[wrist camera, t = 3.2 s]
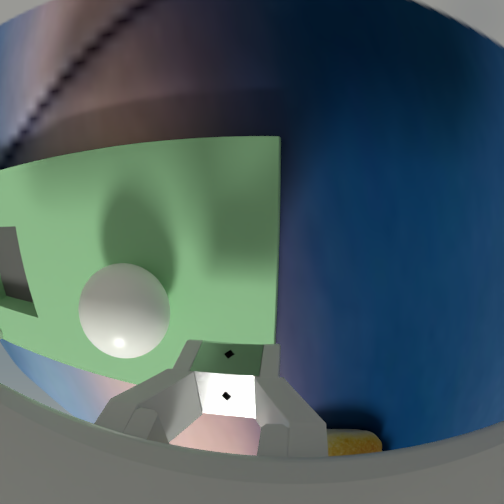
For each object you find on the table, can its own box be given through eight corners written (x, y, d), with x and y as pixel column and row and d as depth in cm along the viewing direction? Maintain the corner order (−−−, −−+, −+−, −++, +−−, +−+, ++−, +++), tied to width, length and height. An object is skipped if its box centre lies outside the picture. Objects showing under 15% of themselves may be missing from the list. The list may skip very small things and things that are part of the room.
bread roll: (368, 406, 15) (378, 459, 11) (390, 463, 17) (397, 503, 13) (247, 437, 17) (237, 485, 14) (296, 487, 19) (293, 524, 16)
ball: (179, 251, 11) (135, 294, 8) (187, 330, 12) (156, 386, 9) (103, 248, 12) (49, 282, 8) (117, 320, 13) (76, 365, 10)
